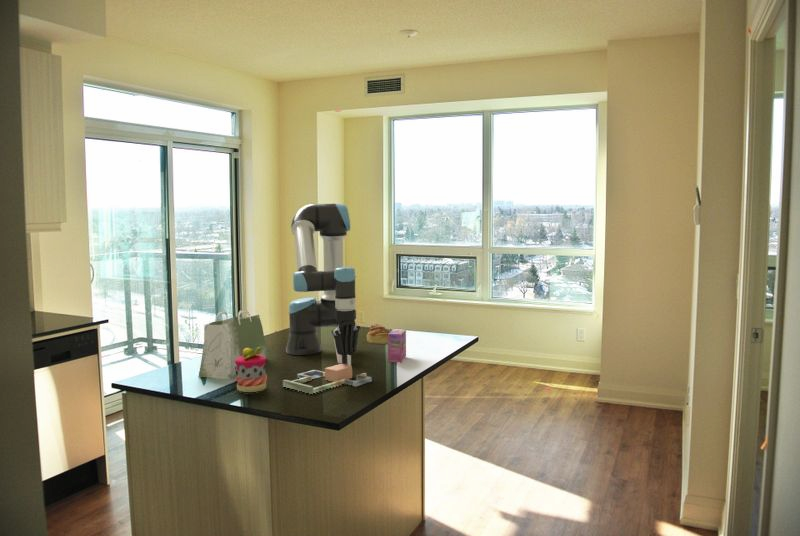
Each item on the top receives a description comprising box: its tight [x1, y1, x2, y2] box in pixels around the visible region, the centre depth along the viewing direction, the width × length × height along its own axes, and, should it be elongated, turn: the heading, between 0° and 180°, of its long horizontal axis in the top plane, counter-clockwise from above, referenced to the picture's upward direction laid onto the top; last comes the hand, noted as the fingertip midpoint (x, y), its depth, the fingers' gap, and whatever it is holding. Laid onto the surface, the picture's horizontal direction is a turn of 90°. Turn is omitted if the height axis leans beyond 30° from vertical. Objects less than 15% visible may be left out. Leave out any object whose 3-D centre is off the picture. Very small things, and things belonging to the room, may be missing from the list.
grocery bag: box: [198, 309, 268, 379], centre depth 241 cm, size 32×14×23 cm, turn 167°
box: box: [387, 328, 407, 364], centre depth 251 cm, size 10×6×12 cm, turn 168°
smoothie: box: [333, 339, 342, 364], centre depth 248 cm, size 6×6×14 cm
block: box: [324, 363, 353, 382], centre depth 223 cm, size 6×8×4 cm
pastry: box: [366, 323, 392, 345], centre depth 290 cm, size 13×15×8 cm
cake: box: [235, 347, 268, 393], centre depth 211 cm, size 10×11×15 cm
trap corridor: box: [282, 369, 373, 395], centre depth 219 cm, size 27×25×2 cm
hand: (347, 372), depth 227 cm, fingers closed
